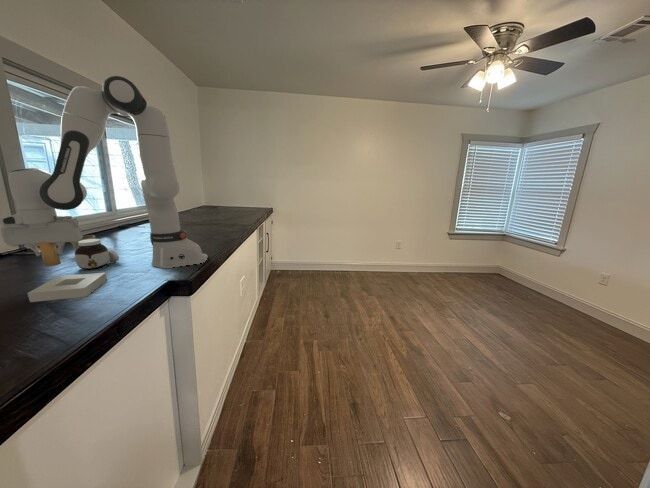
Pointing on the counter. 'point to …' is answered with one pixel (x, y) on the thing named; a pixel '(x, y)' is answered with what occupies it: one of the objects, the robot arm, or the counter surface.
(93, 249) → the spread jar
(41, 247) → the amber upright block
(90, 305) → the counter surface
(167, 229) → the robot arm
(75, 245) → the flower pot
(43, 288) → the housing
